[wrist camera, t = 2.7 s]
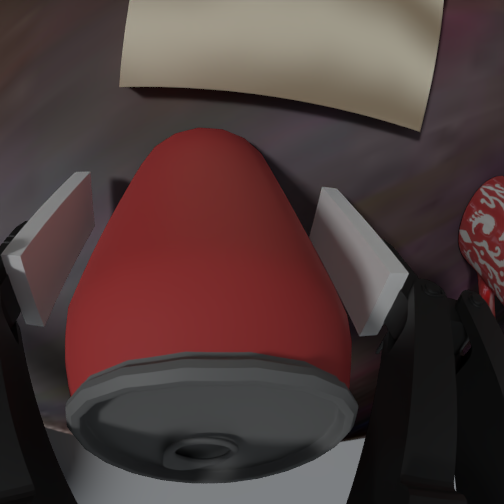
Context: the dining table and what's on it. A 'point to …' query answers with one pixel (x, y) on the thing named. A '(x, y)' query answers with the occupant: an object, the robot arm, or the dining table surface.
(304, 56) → the beige green bent panel
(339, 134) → the dining table surface
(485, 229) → the mug
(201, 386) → the beer can
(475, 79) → the dining table surface
